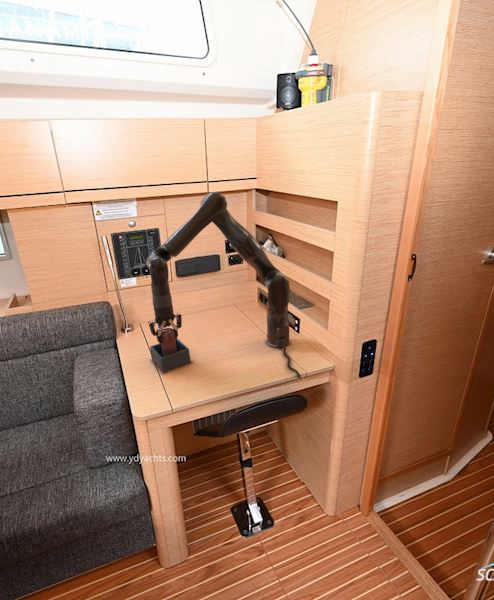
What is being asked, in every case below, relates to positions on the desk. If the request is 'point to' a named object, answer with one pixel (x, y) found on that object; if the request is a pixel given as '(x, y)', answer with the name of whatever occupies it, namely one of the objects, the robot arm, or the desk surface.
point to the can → (168, 342)
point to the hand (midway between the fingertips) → (168, 340)
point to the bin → (170, 357)
